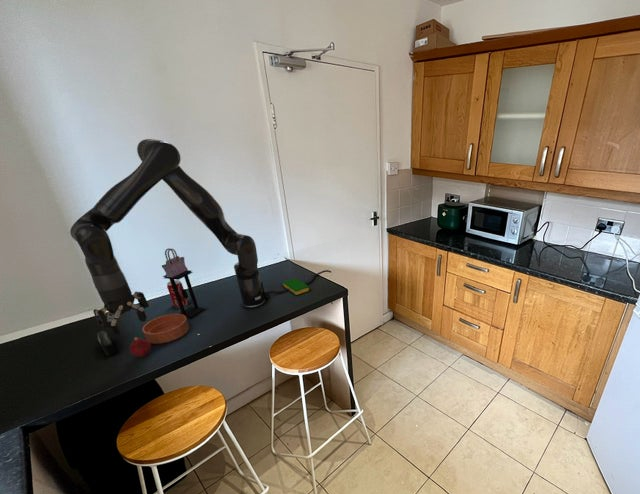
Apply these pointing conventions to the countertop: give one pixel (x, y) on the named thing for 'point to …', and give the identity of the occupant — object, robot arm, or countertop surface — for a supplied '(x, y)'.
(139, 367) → the countertop surface
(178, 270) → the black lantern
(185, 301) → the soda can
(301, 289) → the dish sponge
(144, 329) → the bowl
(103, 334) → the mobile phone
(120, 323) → the countertop surface
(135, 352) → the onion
